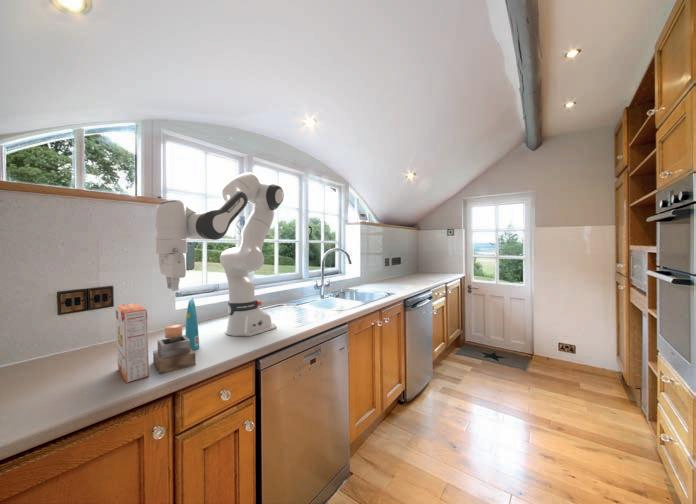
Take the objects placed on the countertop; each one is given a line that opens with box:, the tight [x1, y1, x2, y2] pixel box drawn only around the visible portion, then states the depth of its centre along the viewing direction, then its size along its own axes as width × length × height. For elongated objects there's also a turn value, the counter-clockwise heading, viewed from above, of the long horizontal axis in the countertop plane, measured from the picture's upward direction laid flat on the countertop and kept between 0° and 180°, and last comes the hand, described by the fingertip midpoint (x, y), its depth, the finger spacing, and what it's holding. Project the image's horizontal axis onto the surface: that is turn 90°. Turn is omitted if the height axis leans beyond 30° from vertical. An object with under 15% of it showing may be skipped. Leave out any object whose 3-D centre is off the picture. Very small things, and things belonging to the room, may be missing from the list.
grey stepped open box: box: [152, 334, 196, 375], centre depth 93 cm, size 10×12×8 cm
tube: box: [184, 297, 200, 351], centre depth 106 cm, size 7×5×19 cm, turn 25°
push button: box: [164, 324, 183, 343], centre depth 93 cm, size 5×5×5 cm
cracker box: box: [115, 303, 150, 384], centre depth 86 cm, size 14×6×21 cm, turn 47°
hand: (172, 289), depth 93 cm, fingers open, 5 cm apart
